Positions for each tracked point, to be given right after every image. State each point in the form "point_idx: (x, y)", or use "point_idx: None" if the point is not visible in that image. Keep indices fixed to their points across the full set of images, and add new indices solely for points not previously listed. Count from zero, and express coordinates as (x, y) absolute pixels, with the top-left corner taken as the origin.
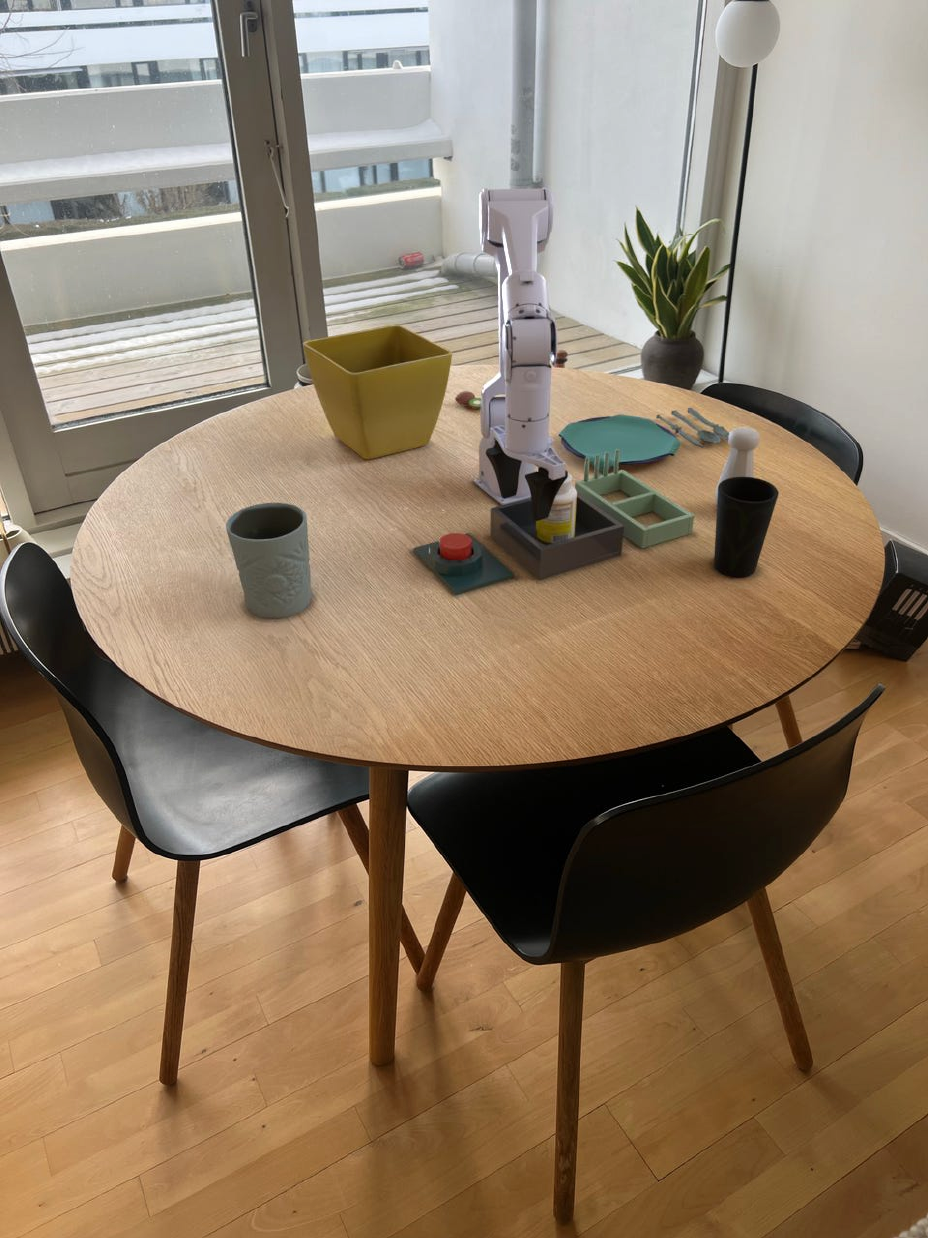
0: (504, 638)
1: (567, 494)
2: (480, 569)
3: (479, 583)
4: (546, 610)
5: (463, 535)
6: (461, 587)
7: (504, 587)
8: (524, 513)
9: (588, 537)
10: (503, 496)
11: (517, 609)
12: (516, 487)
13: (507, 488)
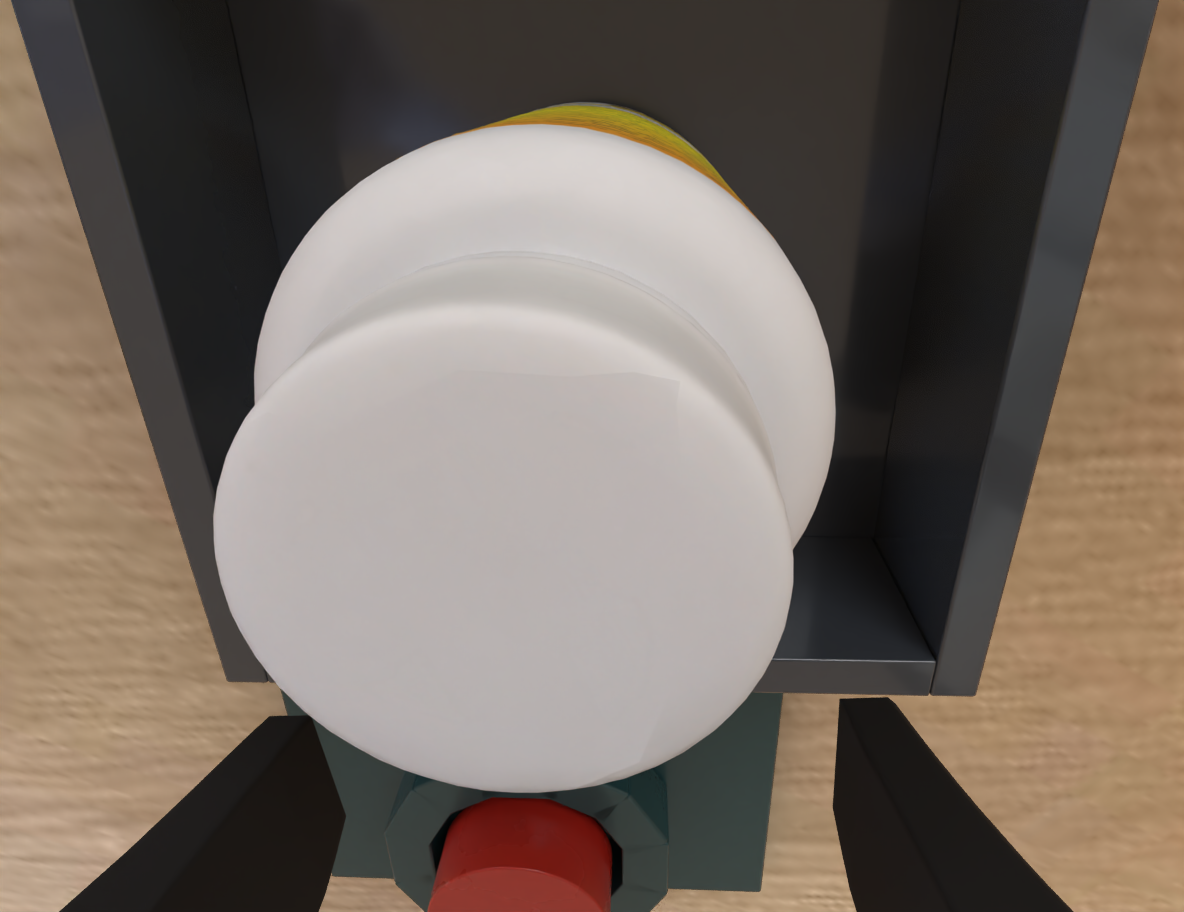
0: (1160, 864)
1: (767, 428)
2: None
3: (767, 807)
4: (1144, 650)
5: (481, 883)
6: (748, 867)
7: (828, 704)
8: (251, 381)
9: (1089, 256)
10: (337, 846)
11: (1029, 742)
12: (270, 784)
13: (294, 886)
